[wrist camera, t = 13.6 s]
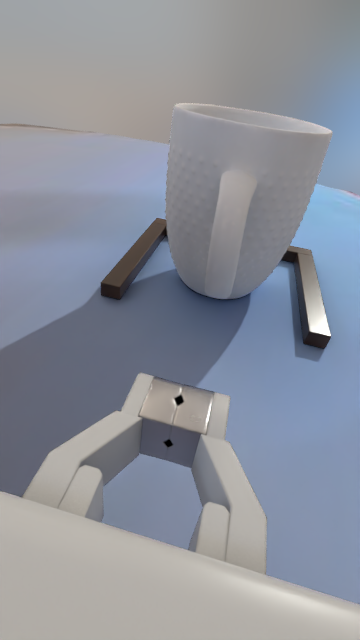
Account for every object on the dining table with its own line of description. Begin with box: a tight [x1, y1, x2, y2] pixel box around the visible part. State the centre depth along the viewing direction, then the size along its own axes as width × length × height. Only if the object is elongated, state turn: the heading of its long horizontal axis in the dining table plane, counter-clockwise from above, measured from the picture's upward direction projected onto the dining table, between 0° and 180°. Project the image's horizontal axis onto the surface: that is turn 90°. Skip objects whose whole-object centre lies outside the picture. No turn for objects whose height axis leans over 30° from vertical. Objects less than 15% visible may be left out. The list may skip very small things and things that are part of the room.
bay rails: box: [101, 218, 331, 348], centre depth 31 cm, size 18×16×1 cm
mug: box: [165, 103, 332, 299], centre depth 25 cm, size 15×11×13 cm
